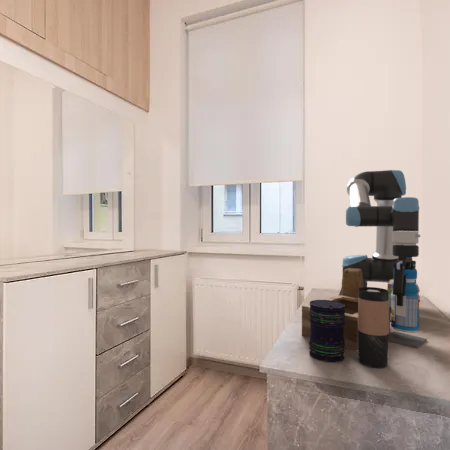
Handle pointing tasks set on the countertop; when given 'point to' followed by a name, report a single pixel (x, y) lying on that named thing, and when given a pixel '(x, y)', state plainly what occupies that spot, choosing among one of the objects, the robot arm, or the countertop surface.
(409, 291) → the beverage bottle
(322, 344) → the storage jar
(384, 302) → the travel mug
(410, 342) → the charcoal mat
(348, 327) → the walnut box
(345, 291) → the block
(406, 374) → the countertop surface
